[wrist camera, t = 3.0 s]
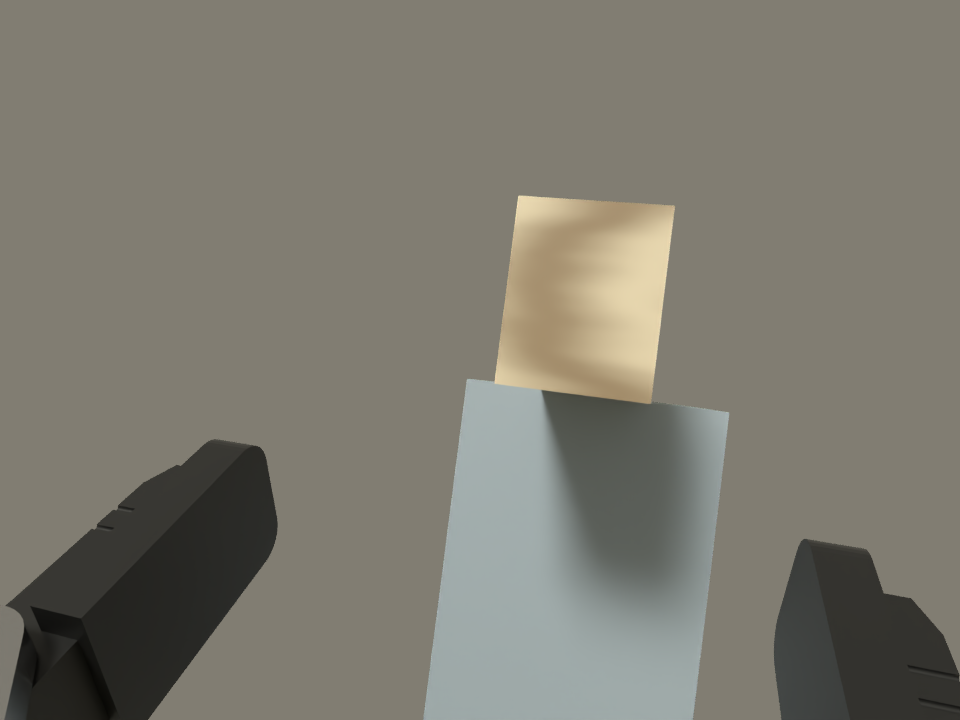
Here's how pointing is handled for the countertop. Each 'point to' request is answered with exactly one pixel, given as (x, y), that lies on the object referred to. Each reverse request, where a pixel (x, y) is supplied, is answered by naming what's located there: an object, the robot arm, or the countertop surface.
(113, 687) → the robot arm
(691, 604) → the slate stand
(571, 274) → the maple bar
